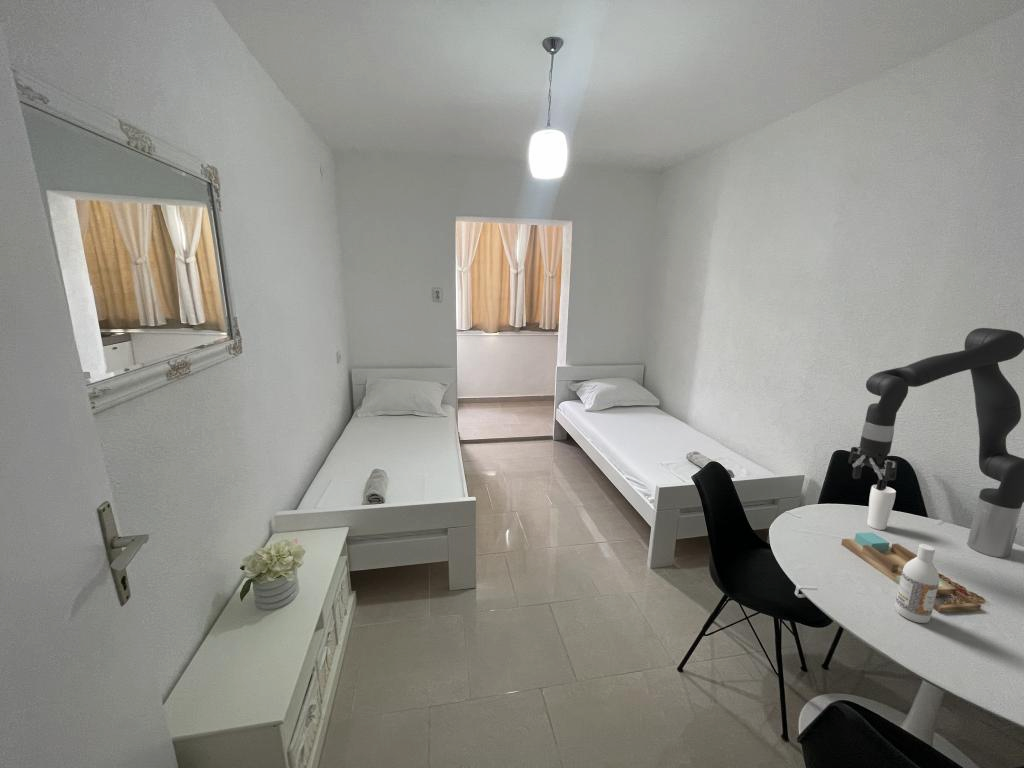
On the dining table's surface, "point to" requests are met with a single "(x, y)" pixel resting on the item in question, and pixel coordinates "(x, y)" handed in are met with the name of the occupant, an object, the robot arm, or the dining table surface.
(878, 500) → the drinking glass
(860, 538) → the block
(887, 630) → the dining table surface
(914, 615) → the bath foam
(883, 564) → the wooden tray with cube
